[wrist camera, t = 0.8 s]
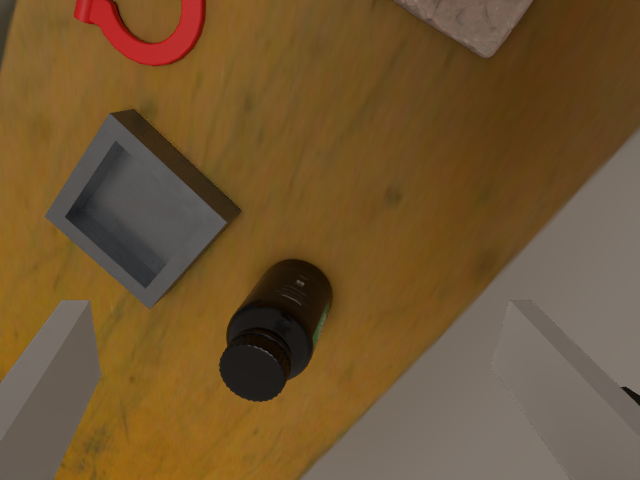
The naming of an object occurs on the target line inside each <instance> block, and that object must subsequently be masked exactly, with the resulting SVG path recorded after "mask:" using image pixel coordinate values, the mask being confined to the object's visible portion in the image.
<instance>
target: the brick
mask: <svg viewBox="0 0 640 480" xmlns="http://www.w3.org/2000/svg"><path fill="white" fill-rule="evenodd" d="M393 1H394V2H395V3H397V4H398V5H400V6H401V7H403V8H405V9H406V10H407V11H409V12H410V13H411V14H412V15H414V16H416V17H418V18H419V19H421V20H422V21H424V22H426V23H427V24H429V25H431V26H432V27H434V28H436V29H437V30H438V31H440V32H442V33H443V34H445V35H447V36H449V37H450V38H452V39H454V40H456V41H457V42H459V43H461V44H462V45H464V46H465V47H467V48H468V49H469V50H470V51H471V52H474V53H476V54H477V55H480V56H481V57H483V58H489V57H491V56H493V55H494V54H495V53H496V51H497V50H498V49H499V47H500V46H501V45H502V44H503V42H504V41H505V40H506V38H507V37H508V36H509V34H510V33H511V31H512V29H513V28H514V27H515V26H516V25H517V23H518V22H519V21H520V19H521V18H522V16H523V15H524V13H525V12H526V10H527V9H528V7H529V6H530V4H531V3H532V1H533V0H393Z"/></svg>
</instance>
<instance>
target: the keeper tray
mask: <svg viewBox="0 0 640 480" xmlns="http://www.w3.org/2000/svg"><path fill="white" fill-rule="evenodd" d="M240 212H241V210H240V209H239V208H238V207H237V206H236V205H235V204H234V203H233V202H232V201H231V200H230V199H229V198H228V197H226V196H225V195H224V194H223V193H222V192H221V191H220V190H219V189H218V188H217V187H216V186H215V185H214V184H213V183H212V182H211V181H209V180H208V179H207V178H206V177H205V176H204V175H203V174H202V173H201V172H200V171H199V170H198V169H197V168H196V167H195V166H193V165H192V164H191V163H190V162H189V161H188V160H187V159H186V158H185V157H184V156H183V155H182V154H181V153H180V152H179V151H178V150H176V149H175V148H174V147H173V146H172V145H171V144H170V143H169V142H168V141H167V140H166V139H165V138H164V137H163V136H162V135H161V134H159V133H158V132H157V131H156V130H155V129H154V128H153V127H152V126H151V125H150V124H149V123H148V122H147V121H146V120H145V119H144V118H142V117H141V116H140V115H139V114H138V113H137V112H136V111H135V110H134V109H132V110H126V111H120V112H114V113H110V114H109V115H108V117H107V118H106V120H105V122H104V123H103V125H102V126H101V128H100V129H99V131H98V133H97V134H96V136H95V137H94V139H93V141H92V142H91V144H90V145H89V147H88V149H87V150H86V152H85V153H84V155H83V156H82V158H81V160H80V161H79V163H78V164H77V166H76V168H75V169H74V171H73V172H72V174H71V175H70V177H69V179H68V180H67V182H66V183H65V185H64V187H63V188H62V190H61V191H60V193H59V195H58V196H57V198H56V199H55V201H54V202H53V204H52V206H51V207H50V209H49V210H48V212H47V214H46V215H45V217H46V218H47V219H48V220H49V221H51V222H52V223H53V224H54V225H55V226H56V227H57V228H58V229H60V230H61V231H62V232H63V233H64V234H65V235H66V236H67V237H69V238H70V239H71V240H72V241H73V242H74V243H75V244H77V245H78V246H79V247H80V248H81V249H82V250H83V251H84V252H86V253H87V254H88V255H89V256H90V257H91V258H92V259H93V260H95V261H96V262H97V263H98V264H99V265H100V266H101V267H103V268H104V269H105V270H106V271H107V272H108V273H109V274H110V275H112V276H113V277H114V278H115V279H116V280H117V281H118V282H119V283H121V284H122V285H123V286H124V287H125V288H126V289H127V290H129V291H130V292H131V293H132V294H133V295H134V296H135V297H136V298H138V299H139V300H140V301H141V302H142V303H143V304H144V305H145V306H147V307H148V308H149V309H150V308H152V307H153V306H154V305H155V304H156V303H157V302H158V301H159V300H161V299H162V298H163V297H164V296H165V295H166V294H167V293H168V292H169V291H170V290H171V289H172V288H173V287H174V285H175V284H176V283H177V282H178V281H179V280H180V279H181V278H182V277H183V275H184V274H185V273H186V272H187V271H188V270H189V269H190V268H191V266H192V265H193V264H194V263H195V262H196V261H197V260H198V259H199V258H200V256H201V255H202V254H203V253H204V252H205V251H206V250H207V249H208V248H209V246H210V245H211V244H212V243H213V242H214V241H215V240H216V239H217V237H218V236H219V235H220V234H221V233H222V232H223V231H224V230H225V229H226V227H227V226H228V225H229V224H230V223H231V222H232V221H233V220H234V219H235V217H236V216H237V215H238V214H239V213H240Z"/></svg>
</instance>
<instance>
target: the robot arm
mask: <svg viewBox="0 0 640 480" xmlns="http://www.w3.org/2000/svg"><path fill="white" fill-rule="evenodd" d="M491 367H492V369H493V370H494V372H495V373H496V375H497V376H498V377H499V379H500V380H501V382H502V383H503V385H504V386H505V387H506V389H507V390H508V391H509V393H510V395H511V396H512V397H513V399H514V400H515V402H516V403H517V405H518V406H519V407H520V409H521V410H522V412H523V413H524V415H525V416H526V417H527V419H528V420H529V422H530V423H531V424H532V426H533V427H534V429H535V430H536V432H537V433H538V435H539V436H540V437H541V439H542V440H543V442H544V443H545V445H546V446H547V447H548V449H549V450H550V452H551V453H552V455H553V456H554V457H555V459H556V460H557V462H558V463H559V464H560V466H561V467H562V469H563V470H564V472H565V473H566V475H567V476H568V477H569V479H570V480H640V395H638V394H636V393H635V392H633V391H632V390H630V389H629V388H627V387H620V386H619V385H617V383H615V382H614V381H613V380H612V379H611V378H610V377H609V376H608V375H607V374H606V373H605V372H604V371H603V370H602V369H601V368H600V367H599V366H598V365H597V364H596V363H595V362H594V361H593V360H592V359H591V358H590V357H589V356H588V355H587V354H586V353H584V351H583V350H582V349H581V348H580V347H579V346H578V345H577V344H575V343H574V342H573V341H572V340H571V339H570V338H569V337H568V336H567V335H566V334H565V333H564V332H563V331H562V330H561V329H560V328H559V327H558V326H557V325H556V324H555V323H554V322H553V321H552V320H551V319H550V318H549V317H548V316H547V315H546V314H544V312H543V311H542V310H540V309H539V307H537V306H536V305H535V304H534V303H533V302H532V301H531V300H510V301H509V305H508V308H507V311H506V315H505V318H504V322H503V325H502V329H501V332H500V335H499V339H498V342H497V346H496V349H495V353H494V356H493V360H492V363H491ZM100 377H101V370H100V364H99V357H98V351H97V344H96V338H95V331H94V325H93V318H92V312H91V305H90V300H62V301H61V302H60V303H59V305H58V306H57V307H56V309H55V310H54V311H53V313H52V314H51V315H50V317H49V318H48V319H47V321H46V322H45V324H44V325H43V326H42V328H41V329H40V330H39V332H38V333H37V334H36V336H35V337H34V338H33V340H32V341H31V343H30V344H29V345H28V347H27V348H26V349H25V351H24V352H23V353H22V355H21V356H20V357H19V359H18V360H17V361H16V363H15V364H14V366H13V367H12V368H11V370H10V371H9V372H8V374H7V375H6V376H5V378H4V379H3V380H2V382H1V383H0V480H53V479H54V477H55V475H56V473H57V471H58V468H59V466H60V464H61V462H62V460H63V458H64V455H65V453H66V451H67V449H68V447H69V445H70V442H71V440H72V438H73V436H74V434H75V431H76V429H77V427H78V425H79V423H80V421H81V418H82V416H83V414H84V412H85V410H86V408H87V405H88V403H89V401H90V399H91V397H92V394H93V392H94V390H95V388H96V386H97V384H98V381H99V379H100Z"/></svg>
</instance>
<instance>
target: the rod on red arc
mask: <svg viewBox="0 0 640 480" xmlns="http://www.w3.org/2000/svg"><path fill="white" fill-rule="evenodd" d="M205 4H206V2H205V0H182V14H181V18H180V22H179V24H178V26H177V28H176V30H175V32H174V33H173V34H172V35H171V36H170V37H169V38H168V39H166V40H164V41H162V42H160V43H154V44H152V43H146V42H144V41H142V40H140V39H137V38H136V37H135V36H134V35H133V34H131V33H130V32H129V31H128V29H127V28H126V27H125V26H124V24H123V23H122V21H121V19H120V17H119V15H118V11H117V8H116V5H115V3H114V2H113V1H111V0H77V1H76V7H75V12H74V17H75V18H76V19H78V20H80V21H82V22H85V23H88V24H96V25H98V26H100V28H101V30H102V32H103V34H104V35H105V36H106V38H107V39H108V40H109V41H110V43H111V44H112V45H113V46H114V48H116V49H117V50H118V51H119V52H121V53H122V54H123V55H124V56H125V57H127V58H129V59H131V60H133V61H135V62H138V63H140V64H145V65H151V66H159V65H166V64H172V63H174V62H176V61H178V60H180V59H182V58H184V57H185V56H186V55H187V54H188V53H189V52H190V51H191V50H192V49H193V48H194V46H195V44H196V43H197V41H198V39H199V37H200V36H201V32H202V29H203V25H204V21H205Z"/></svg>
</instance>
